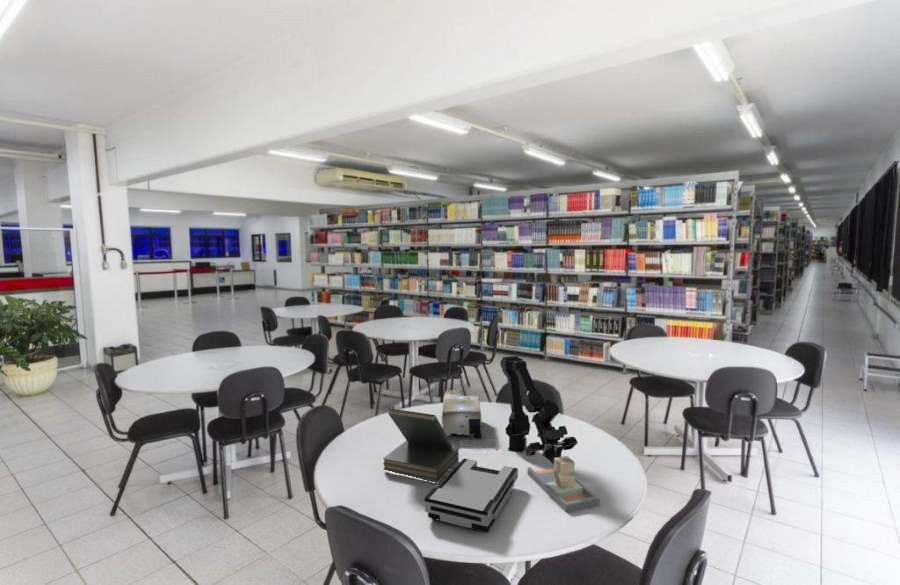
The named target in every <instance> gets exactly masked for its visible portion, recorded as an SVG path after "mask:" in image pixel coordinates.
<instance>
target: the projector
mask: <svg viewBox="0 0 900 585" xmlns="http://www.w3.org/2000/svg"><path fill="white" fill-rule="evenodd" d="M443 394H444V396H443V404H442V409H441V410H442V411H441V414H442V415H441V424H442V425H441V426H442V428H443V430H444V431H445V433H446V435H447V436H451V435H452V434H453V433H456V434H455V435H458V436H468V435H469V436H468V437H470V438H471V439H474V438H475V439H476V440H478V439H481V438H483V427H482V413H481V412H482V411H481V402H480V396H479V395H463V392H462V389H460V388H455V389H451V390H445V392H444V393H443ZM451 433H452V434H451ZM457 433H458V434H457ZM463 434H464V435H463ZM475 439H474V440H475Z"/></svg>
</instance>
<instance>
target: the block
mask: <svg viewBox="0 0 900 585" xmlns="http://www.w3.org/2000/svg"><path fill="white" fill-rule="evenodd" d="M575 464H576V462H575V461H574V460H572V458H570V457H569V456H567V455H564V456H561V457H557V458H554V465H553V468H554V483H555V484H556V485H557V486H558V487H559V488H560V489H561V490H562V489H567V488H573V487H574V478H576V477H575V475H576V472H575V468H576V467H575Z"/></svg>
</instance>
